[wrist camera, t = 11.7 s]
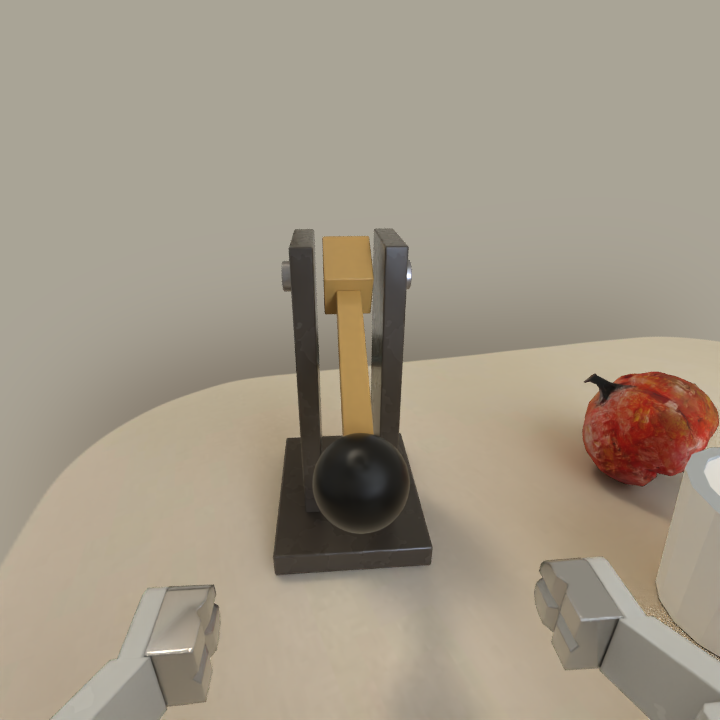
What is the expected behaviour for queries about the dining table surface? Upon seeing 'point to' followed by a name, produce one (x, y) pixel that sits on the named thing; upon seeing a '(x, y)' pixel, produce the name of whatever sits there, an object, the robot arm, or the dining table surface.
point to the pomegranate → (646, 425)
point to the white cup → (695, 553)
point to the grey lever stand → (297, 503)
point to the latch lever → (356, 406)
